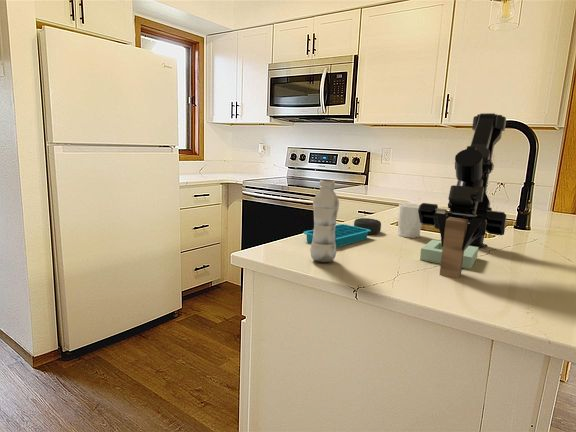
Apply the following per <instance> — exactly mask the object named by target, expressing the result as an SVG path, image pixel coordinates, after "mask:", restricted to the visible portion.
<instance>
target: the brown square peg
mask: <svg viewBox="0 0 576 432" xmlns="http://www.w3.org/2000/svg"><path fill="white" fill-rule="evenodd" d="M467 225H468V219H462V218H454V217H449V218H447V219H446V224H445V233H444V241H443V249H442V258H441V264H440V266H439V267H440V268H439V276H444V277H448V278H449V277H450V278H454V279H459V277H460V276H461V275H462V272H463V271H462V270H463V268H462V263H463V255H464V251H462V246H463V242H464V239H465V237H466V232H467Z"/></svg>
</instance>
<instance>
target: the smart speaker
mask: <svg viewBox="0 0 576 432" xmlns="http://www.w3.org/2000/svg"><path fill="white" fill-rule="evenodd" d="M353 226H355V227H360V228H365V229H369V230H371V231H370V232H368V233H367V235H377V234H379V233H380V232H381V230H382V223H381V221H380V220H379V219H374V218H369V217H368V218H367V217H364V218H363V217H360V218H359V217H358V218H356V219H355V220H354V221H353Z"/></svg>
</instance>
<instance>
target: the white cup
mask: <svg viewBox="0 0 576 432" xmlns="http://www.w3.org/2000/svg"><path fill="white" fill-rule="evenodd" d="M420 205H421V204H419V203H418V204H417V203H399V204H398V218H397V222H398V223H397V226H398V229H397V230H398V231H397V235H398V236H400V237H403V238H409V239H410V238H411V239H412V238H416V237H417V238H419V237H420V236H421V235H420V234H421V229H422V225H423V224H422V223H420V218H419V213H418V209H419V206H420Z"/></svg>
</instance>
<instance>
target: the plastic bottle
mask: <svg viewBox="0 0 576 432" xmlns="http://www.w3.org/2000/svg"><path fill="white" fill-rule="evenodd" d="M335 184H336V182H335V180H334V179H320V180H319V185H318V188H319V191H318V192H317V193H316V194H315V196H314V197H313V201H312V208H313V230H314V232H313V240H312V243H310V249H309V251H310V252H309V253H310V256H311V259H312V260H314V261H315V262H319V263H330V262H333V261H334V260H335V258H336V255H337V247H336V243H335V227H336V226H335V225H337V217H338V213H339V207H340V199H339V198H338V196H337V194H336V193H335V192H336V191H335V190H334V189H336V187H335V186H336V185H335Z"/></svg>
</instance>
